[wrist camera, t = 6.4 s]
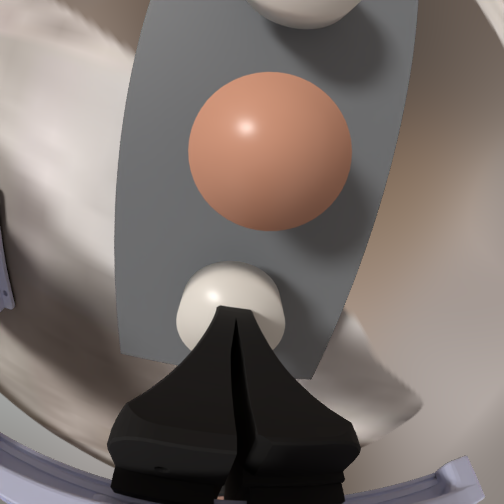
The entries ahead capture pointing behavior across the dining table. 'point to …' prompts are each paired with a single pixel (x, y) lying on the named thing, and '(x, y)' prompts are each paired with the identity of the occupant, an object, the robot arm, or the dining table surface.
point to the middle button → (270, 151)
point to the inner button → (229, 300)
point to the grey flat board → (196, 207)
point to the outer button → (303, 11)
